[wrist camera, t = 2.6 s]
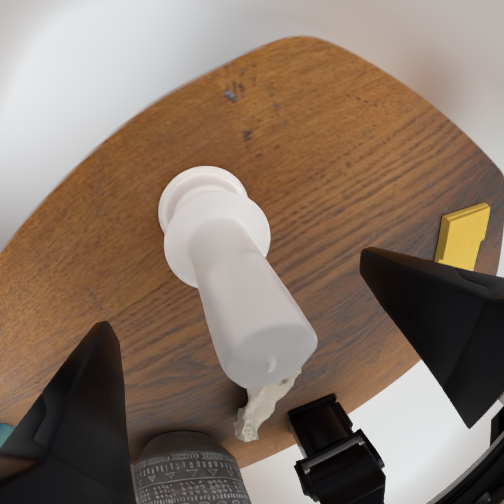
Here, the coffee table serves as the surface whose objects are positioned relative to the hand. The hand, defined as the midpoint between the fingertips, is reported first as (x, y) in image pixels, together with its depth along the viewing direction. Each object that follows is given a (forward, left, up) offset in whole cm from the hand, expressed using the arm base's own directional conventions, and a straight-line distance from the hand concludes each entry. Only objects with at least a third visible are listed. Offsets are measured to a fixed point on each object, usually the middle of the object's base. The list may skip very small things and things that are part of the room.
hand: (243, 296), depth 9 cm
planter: (-10, -27, -9) cm, 30 cm away
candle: (0, 0, -9) cm, 9 cm away
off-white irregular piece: (+1, -18, -9) cm, 20 cm away
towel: (+27, -11, -9) cm, 30 cm away
